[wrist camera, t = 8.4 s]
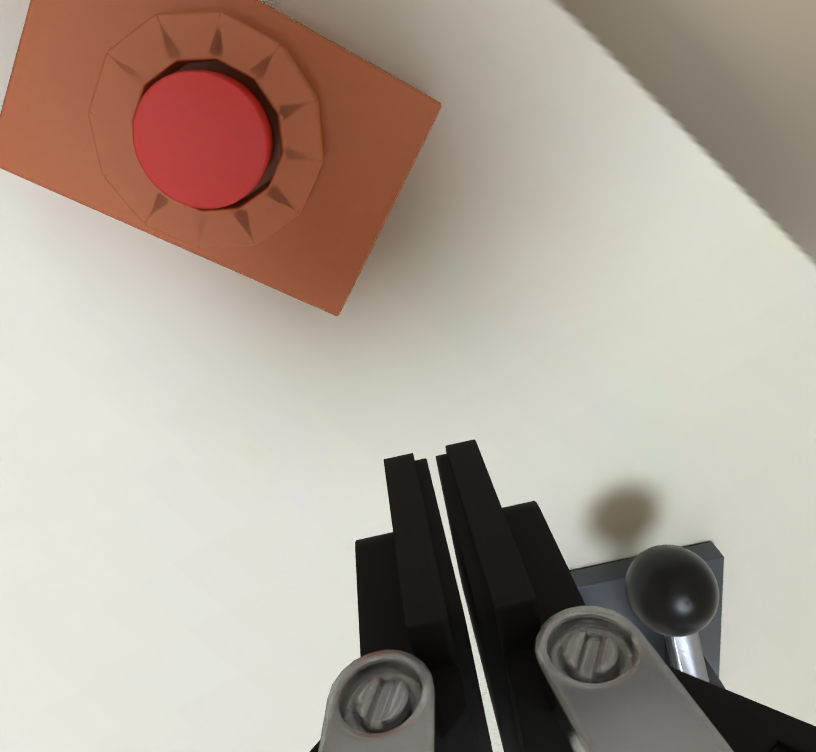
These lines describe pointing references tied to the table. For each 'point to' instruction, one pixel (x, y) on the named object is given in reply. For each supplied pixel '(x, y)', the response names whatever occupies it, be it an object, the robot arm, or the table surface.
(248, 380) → the table surface
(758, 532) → the table surface
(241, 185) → the button
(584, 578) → the lever bracket
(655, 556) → the press lever
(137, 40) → the button box
